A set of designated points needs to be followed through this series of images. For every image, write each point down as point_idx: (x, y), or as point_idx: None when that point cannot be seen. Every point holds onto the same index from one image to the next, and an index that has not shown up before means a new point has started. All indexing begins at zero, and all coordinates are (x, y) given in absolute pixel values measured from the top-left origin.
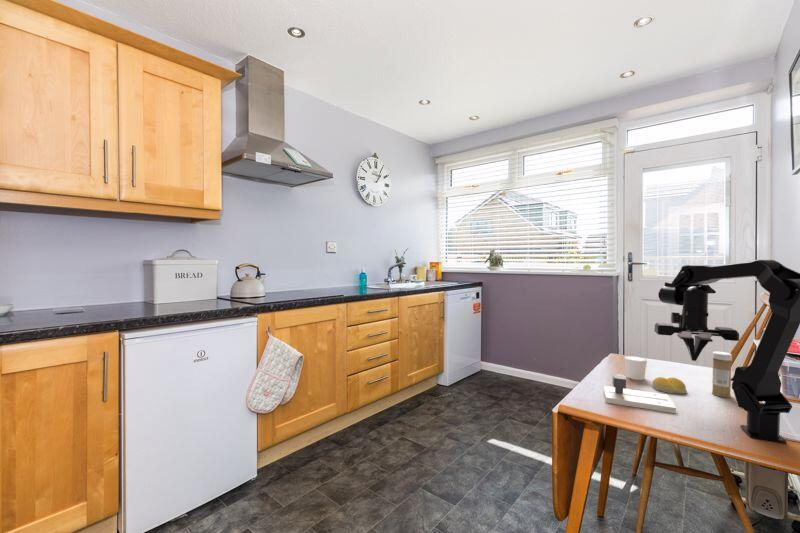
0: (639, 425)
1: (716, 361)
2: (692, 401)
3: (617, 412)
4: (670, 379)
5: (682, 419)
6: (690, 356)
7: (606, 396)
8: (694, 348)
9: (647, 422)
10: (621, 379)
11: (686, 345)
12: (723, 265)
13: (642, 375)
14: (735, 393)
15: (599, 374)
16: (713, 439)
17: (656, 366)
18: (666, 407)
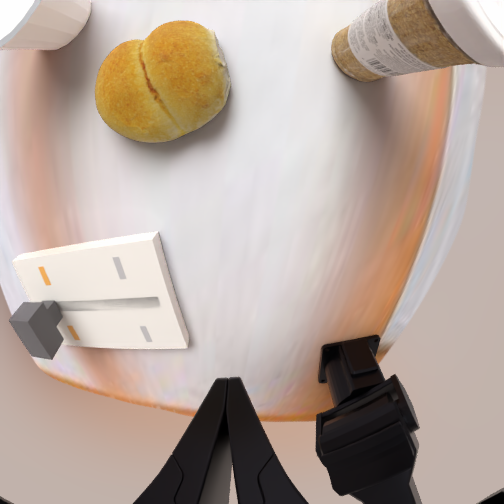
0: (144, 403)
1: (432, 30)
2: (239, 198)
3: (97, 373)
4: (154, 72)
5: (204, 362)
6: (206, 400)
7: None
8: (235, 466)
9: (150, 393)
10: (44, 357)
11: (161, 480)
12: None
13: (71, 27)
14: (316, 439)
15: None
16: None
17: None
18: (166, 347)
